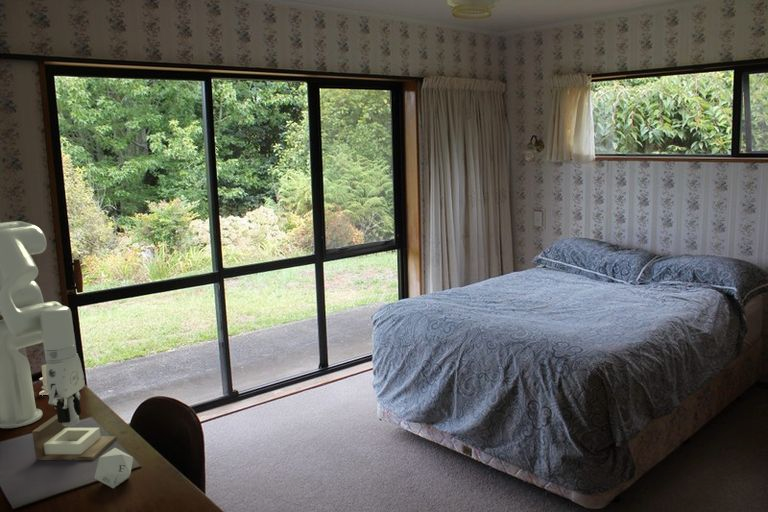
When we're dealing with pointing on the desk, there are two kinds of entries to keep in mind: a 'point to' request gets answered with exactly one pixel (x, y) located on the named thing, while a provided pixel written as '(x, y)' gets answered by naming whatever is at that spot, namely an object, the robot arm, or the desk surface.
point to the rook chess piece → (71, 413)
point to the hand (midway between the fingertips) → (70, 417)
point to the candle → (44, 382)
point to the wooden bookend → (55, 427)
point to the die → (114, 467)
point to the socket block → (64, 446)
